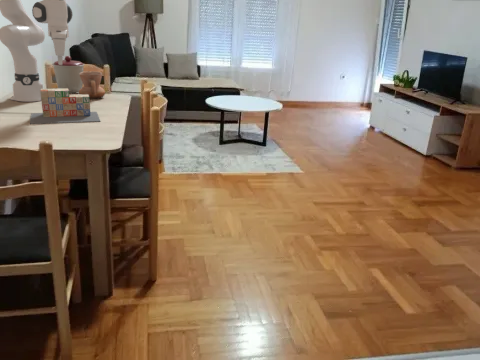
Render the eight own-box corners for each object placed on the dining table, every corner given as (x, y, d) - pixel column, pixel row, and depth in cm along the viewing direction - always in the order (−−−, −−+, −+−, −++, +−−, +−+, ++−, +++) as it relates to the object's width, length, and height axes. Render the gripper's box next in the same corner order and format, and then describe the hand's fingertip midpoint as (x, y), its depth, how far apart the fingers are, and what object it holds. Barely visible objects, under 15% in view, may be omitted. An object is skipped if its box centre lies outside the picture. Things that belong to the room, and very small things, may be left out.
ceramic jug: (78, 95, 269) (76, 70, 264) (104, 94, 274) (102, 70, 269) (80, 101, 254) (78, 75, 248) (107, 101, 259) (105, 75, 253)
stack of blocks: (89, 113, 227) (88, 88, 222) (90, 115, 221) (89, 90, 217) (43, 114, 219) (40, 88, 215) (42, 117, 214) (40, 90, 209)
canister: (75, 88, 289) (73, 53, 281) (92, 92, 278) (90, 57, 271) (48, 91, 275) (45, 55, 268) (65, 95, 265) (62, 58, 258)
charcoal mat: (31, 114, 220) (31, 113, 219) (96, 112, 230) (96, 111, 230) (29, 124, 202) (29, 123, 202) (100, 121, 213) (100, 120, 213)
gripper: (51, 30, 220) (53, 59, 225) (51, 34, 203) (53, 66, 208) (65, 31, 223) (66, 60, 228) (66, 35, 205) (68, 66, 210)
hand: (60, 63), depth 218 cm, fingers open, 8 cm apart
